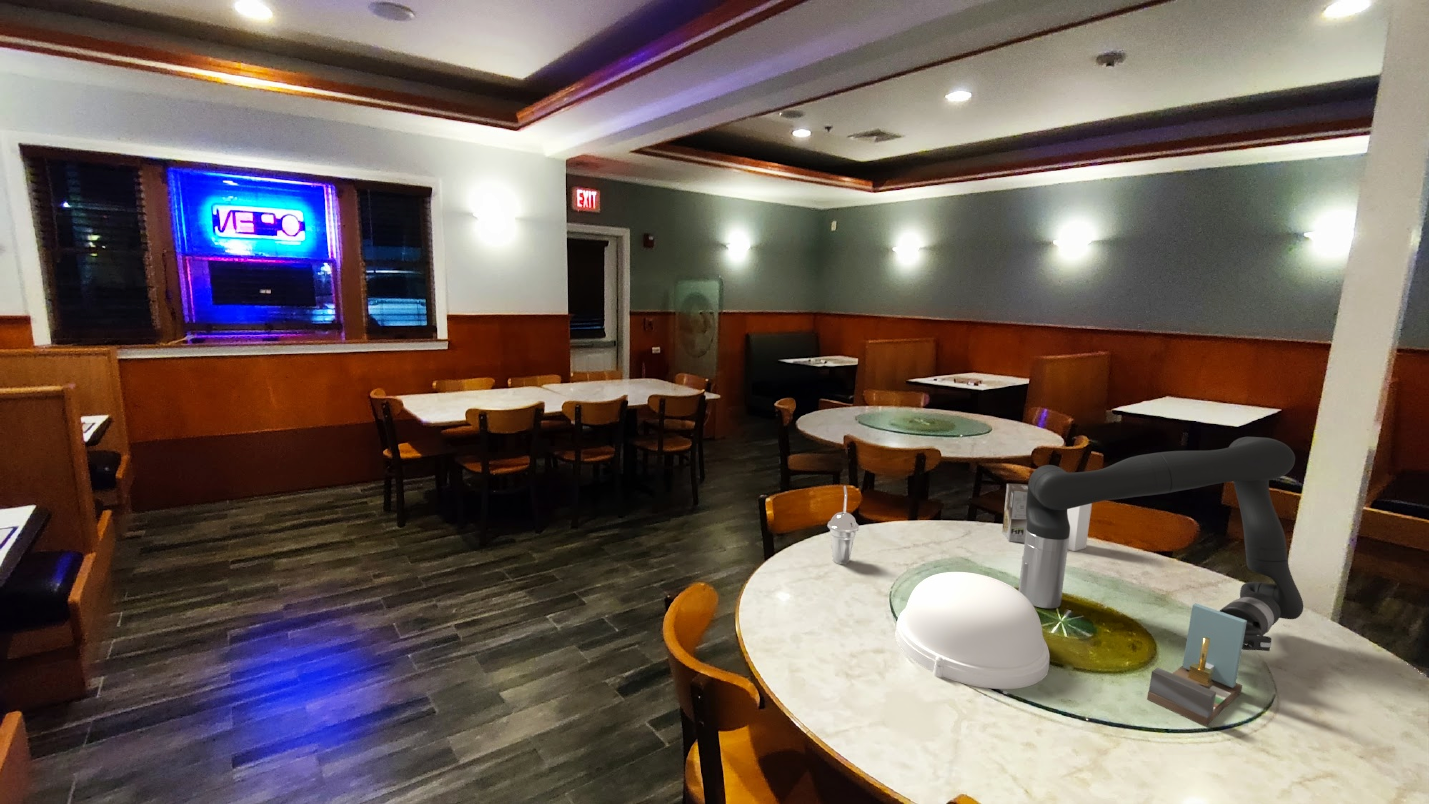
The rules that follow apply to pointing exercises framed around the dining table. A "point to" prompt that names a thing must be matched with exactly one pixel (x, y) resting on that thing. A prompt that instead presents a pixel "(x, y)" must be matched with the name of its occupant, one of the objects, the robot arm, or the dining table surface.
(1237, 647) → the blue-grey rectangular panel
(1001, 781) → the dining table surface
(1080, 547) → the milk
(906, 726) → the dining table surface
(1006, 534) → the coffee box
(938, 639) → the dome cover
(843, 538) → the cup with straw
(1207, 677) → the gold upright bar
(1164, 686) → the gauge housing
